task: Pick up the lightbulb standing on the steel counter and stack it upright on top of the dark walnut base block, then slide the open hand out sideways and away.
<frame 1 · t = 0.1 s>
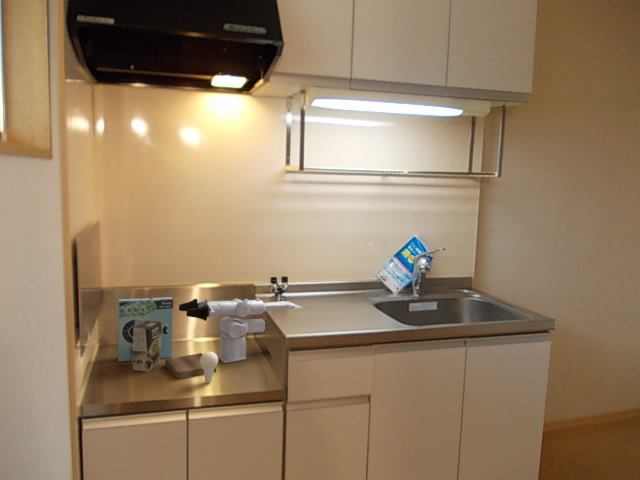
hand: (183, 310, 183), 22 cm above the counter, tool horizontal, fingers open, 7 cm apart
light blue product box: (145, 358, 194), on the counter
lightbulb: (208, 383, 175), on the counter
walnut base: (190, 368, 185), on the counter
coffee box: (147, 367, 185), on the counter
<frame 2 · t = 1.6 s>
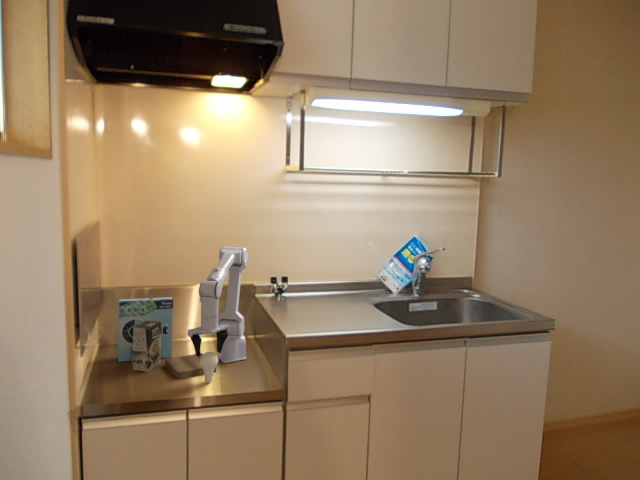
hand: (208, 353, 173), 10 cm above the counter, tool pointing down, fingers open, 7 cm apart
nothing on the counter moved.
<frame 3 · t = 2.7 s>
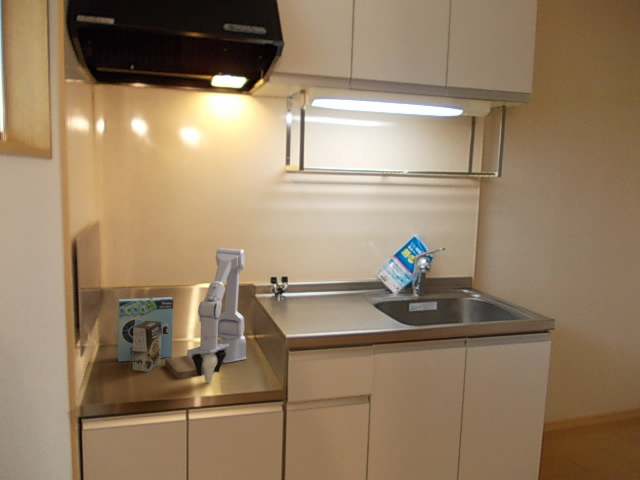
hand: (208, 373, 174), 3 cm above the counter, tool pointing down, fingers closed on lightbulb, 6 cm apart
lightbulb: (208, 383, 175), on the counter, touching gripper
everything else where it was.
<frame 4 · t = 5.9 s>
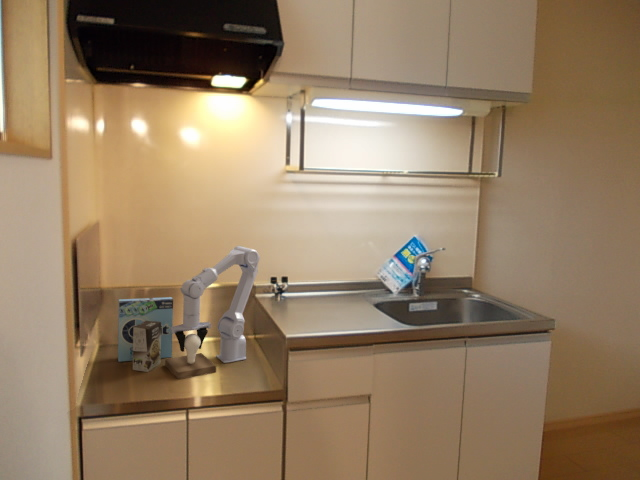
hand: (190, 349, 184), 7 cm above the counter, tool pointing down, fingers closed on lightbulb, 6 cm apart
lightbulb: (191, 364, 183), point 2 cm above the counter, touching gripper, walnut base
everything else where it was.
when the fingers open (7 cm above the counter, at t = 6.4 s): lightbulb stays where it is, resting on walnut base.
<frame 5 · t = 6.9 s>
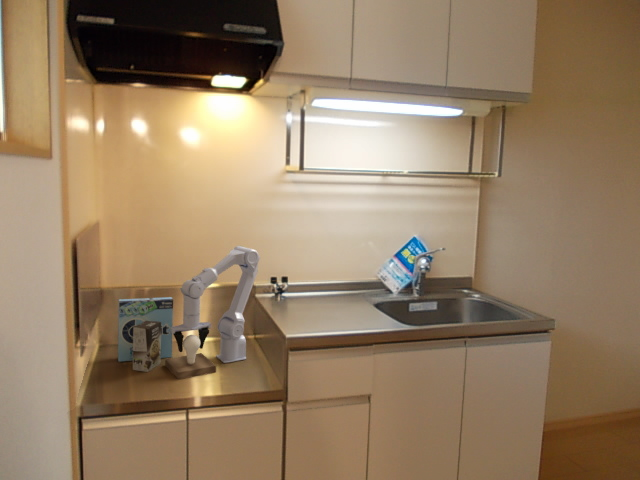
hand: (190, 349, 184), 7 cm above the counter, tool pointing down, fingers open, 7 cm apart
lightbulb: (191, 364, 183), point 2 cm above the counter, touching walnut base
everything else where it was.
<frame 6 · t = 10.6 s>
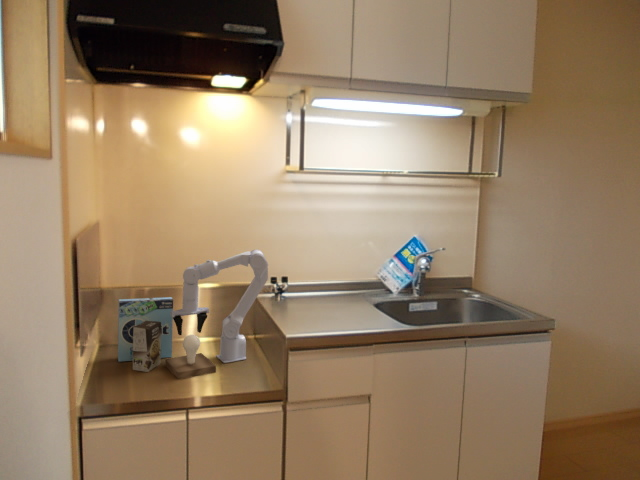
hand: (189, 333, 193), 10 cm above the counter, tool pointing down, fingers open, 7 cm apart
nothing on the counter moved.
at the end: lightbulb inside the target area on the walnut base (1.8 cm from its centre), point 2.3 cm above the walnut base's base; lightbulb tilted 0°; lightbulb touching walnut base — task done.
